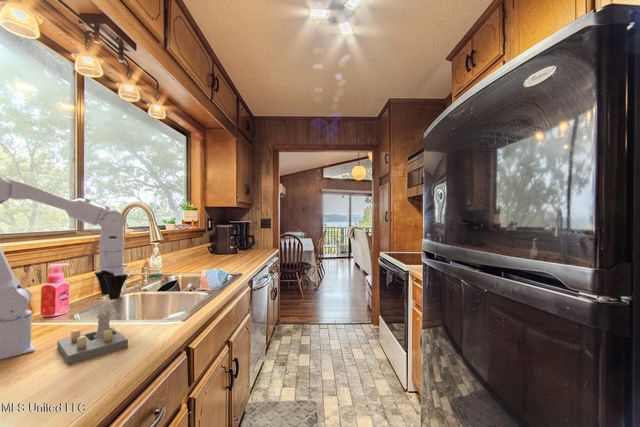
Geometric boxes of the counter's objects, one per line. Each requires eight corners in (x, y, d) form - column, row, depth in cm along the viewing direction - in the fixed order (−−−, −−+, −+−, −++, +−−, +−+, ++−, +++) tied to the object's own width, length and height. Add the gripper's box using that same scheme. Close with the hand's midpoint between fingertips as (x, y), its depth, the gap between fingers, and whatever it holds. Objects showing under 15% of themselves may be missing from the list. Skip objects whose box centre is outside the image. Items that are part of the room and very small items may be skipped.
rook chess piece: (109, 336, 83) (110, 308, 83) (115, 340, 80) (116, 311, 80) (90, 341, 79) (91, 312, 79) (96, 346, 77) (97, 315, 77)
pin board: (57, 348, 75) (57, 330, 75) (112, 334, 84) (112, 318, 84) (68, 364, 67) (68, 345, 67) (127, 347, 76) (128, 329, 76)
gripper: (135, 251, 85) (134, 298, 85) (119, 248, 94) (118, 290, 94) (106, 254, 79) (105, 303, 79) (92, 249, 89) (91, 294, 88)
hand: (110, 296), depth 86 cm, fingers open, 7 cm apart
